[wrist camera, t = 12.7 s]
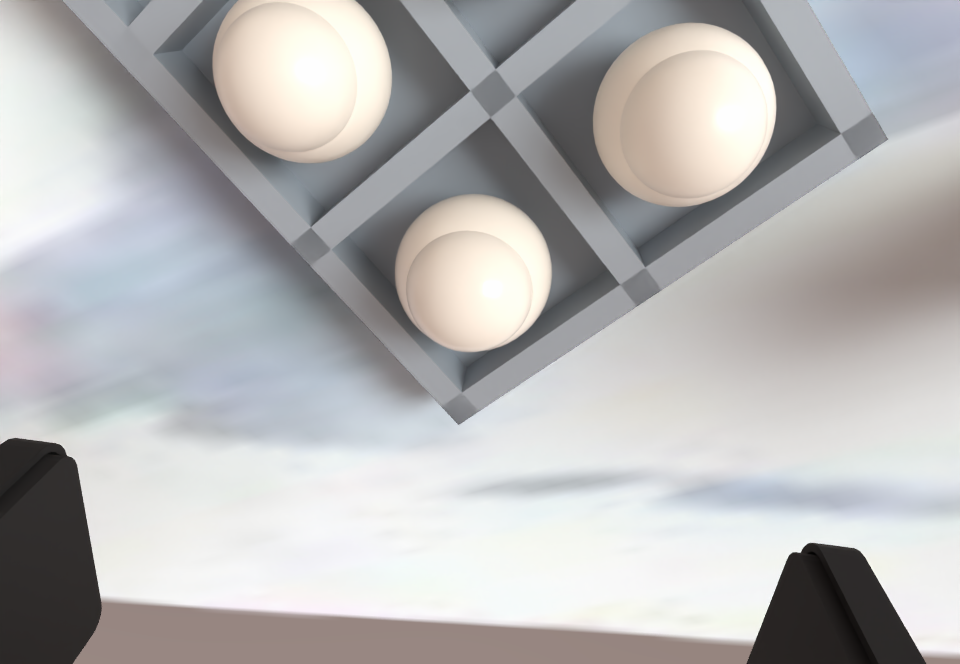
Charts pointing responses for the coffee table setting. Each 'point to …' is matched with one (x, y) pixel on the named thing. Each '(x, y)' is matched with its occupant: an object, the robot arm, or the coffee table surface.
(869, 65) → the coffee table surface
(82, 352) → the coffee table surface
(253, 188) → the carton
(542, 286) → the egg
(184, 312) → the coffee table surface
